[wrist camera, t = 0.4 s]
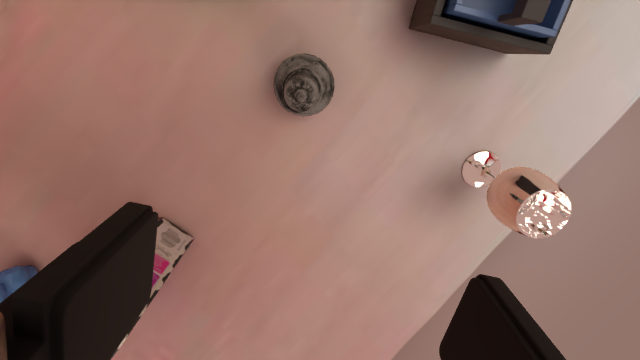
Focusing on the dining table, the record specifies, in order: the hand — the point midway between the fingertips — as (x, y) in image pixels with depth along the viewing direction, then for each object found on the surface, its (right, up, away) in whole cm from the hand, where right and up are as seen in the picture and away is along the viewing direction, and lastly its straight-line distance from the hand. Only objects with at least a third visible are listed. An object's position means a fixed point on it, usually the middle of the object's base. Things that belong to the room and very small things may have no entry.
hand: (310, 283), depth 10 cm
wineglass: (+19, +4, +31) cm, 36 cm away
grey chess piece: (-1, +13, +27) cm, 30 cm away
